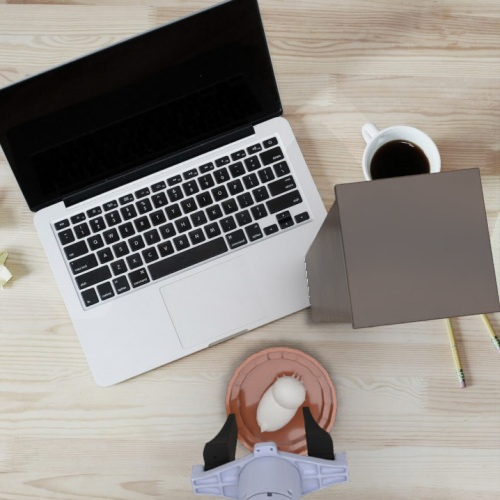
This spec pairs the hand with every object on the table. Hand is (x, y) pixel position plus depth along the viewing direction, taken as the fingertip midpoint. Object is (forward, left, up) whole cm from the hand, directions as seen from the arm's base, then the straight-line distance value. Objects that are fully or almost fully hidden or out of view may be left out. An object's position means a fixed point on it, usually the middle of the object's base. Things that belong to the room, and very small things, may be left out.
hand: (269, 417), depth 74 cm
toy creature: (0, -1, -13) cm, 13 cm away
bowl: (0, -1, -13) cm, 13 cm away
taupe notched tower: (+13, -10, -13) cm, 21 cm away
